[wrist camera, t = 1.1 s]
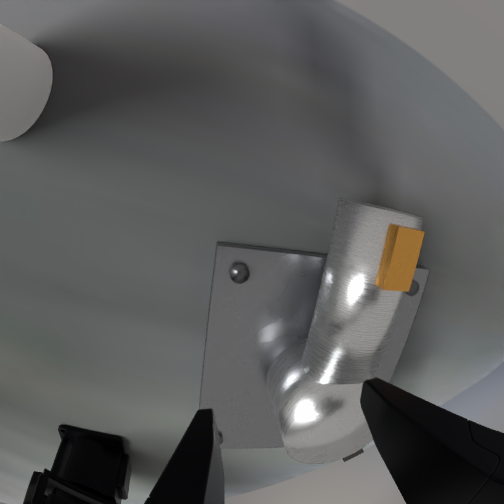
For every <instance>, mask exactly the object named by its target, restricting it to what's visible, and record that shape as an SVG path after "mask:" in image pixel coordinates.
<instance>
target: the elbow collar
mask: <svg viewBox="0 0 504 504" xmlns="http://www.w3.org/2000/svg"><path fill="white" fill-rule="evenodd" d="M422 223H423V218H421V217H419V216H416V215H413V214H409V213H406V212H402V211H399V210H395V209H391V208H387V207H383V206H379V205H375V204H370V203H365V202H361V201H355V200H350V199H343V198H339V199H338V205H337V210H336V215H335V220H334V226H333V231H332V235H331V240H330V245H329V250H328V255H327V259H326V264H325V268H324V273H323V277H322V282H321V286H320V290H319V294H318V299H317V303H316V307H315V311H314V315H313V319H312V323H311V327H310V331H309V334H308V338H305V339H303V340H300V341H298V342H296V343H294V344H292V345H290V346H289V347H287V348H286V349H285V350H283V351H282V352H281V353H280V354H279V355H278V356H277V357H276V358H275V360H274V361H273V363H272V364H271V366H270V368H269V370H268V373H267V377H266V386H267V390H268V394H269V397H270V400H271V404H272V407H273V410H274V414H275V417H276V420H277V424H278V427H279V430H280V434H281V437H282V440H283V443H284V447H285V449H286V452H287V453H288V454H289V455H290V456H291V457H292V458H293V459H295V460H297V461H300V462H304V463H310V464H319V463H327V462H332V461H336V460H339V459H342V458H345V457H347V456H349V455H351V454H353V453H355V452H357V451H359V450H360V449H362V448H363V447H365V446H366V445H367V444H369V443H370V442H371V441H372V440H373V437H372V435H371V432H370V429H369V427H368V424H367V422H366V419H365V416H364V414H363V411H362V409H361V406H360V397H361V391H362V385H363V382H364V381H365V380H367V379H371V378H374V377H375V374H376V372H377V369H378V367H379V364H380V362H381V359H382V357H383V354H384V351H385V349H386V346H387V343H388V341H389V338H390V335H391V332H392V329H393V326H394V324H395V321H396V318H397V315H398V311H399V308H400V305H401V302H402V299H403V296H404V292H405V291H406V292H409V290H410V286H411V283H412V279H413V276H414V272H415V269H416V265H417V261H418V257H419V253H420V249H421V245H422V241H423V237H424V233H425V232H424V231H421V227H422Z"/></svg>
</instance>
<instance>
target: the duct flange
mask: <svg viewBox="0 0 504 504" xmlns="http://www.w3.org/2000/svg"><path fill="white" fill-rule="evenodd" d="M327 255H328V254H320V253H312V252H303V251H294V250H286V249H277V248H268V247H260V246H251V245H242V244H233V243H224V242H217V247H216V255H215V262H214V271H213V279H212V287H211V296H210V304H209V313H208V322H207V332H206V341H205V351H204V361H203V371H202V382H201V393H200V404H199V409H208V408H212V409H213V411H214V415H215V419H216V424H217V429H218V435H219V443H220V448H278V447H284V443H283V440H282V437H281V434H280V430H279V427H278V424H277V420H276V417H275V414H274V410H273V407H272V404H271V400H270V397H269V394H268V390H267V386H266V377H267V373H268V370H269V368H270V366H271V364H272V363H273V361H274V360H275V358H276V357H277V356H278V355H279V354H280V353H281V352H282V351H283V350H285V349H286V348H287V347H289V346H290V345H292V344H294V343H296V342H298V341H300V340H303V339H305V338H308V334H309V331H310V327H311V323H312V319H313V315H314V311H315V307H316V303H317V299H318V294H319V290H320V286H321V282H322V277H323V273H324V268H325V264H326V259H327ZM428 274H429V269H427V268H426V267H424V266H421V265H416V269H415V272H414V276H413V279H412V283H411V286H410V290H409V292H406V291H405V292H404V296H403V299H402V302H401V305H400V308H399V311H398V315H397V318H396V321H395V324H394V326H393V329H392V332H391V335H390V338H389V341H388V343H387V346H386V349H385V351H384V354H383V357H382V359H381V362H380V364H379V367H378V369H377V372H376V374H375V377H377V378H380V379H382V380H384V381H386V382H388V383H389V382H390V380H391V377H392V375H393V373H394V370H395V368H396V365H397V363H398V361H399V358H400V356H401V353H402V351H403V348H404V346H405V343H406V340H407V338H408V335H409V332H410V329H411V327H412V324H413V321H414V318H415V315H416V312H417V309H418V306H419V303H420V300H421V297H422V294H423V291H424V287H425V284H426V281H427V277H428ZM361 453H363V449H360V450H359V451H357V452H355V453H353V454H351V455H349V456H347V457H345V458H342V459H343V460H344V462H345V461H347V460H349V459H351V458H353V457H355V456H357V455H359V454H361Z"/></svg>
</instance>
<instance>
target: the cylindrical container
mask: <svg viewBox="0 0 504 504" xmlns="http://www.w3.org/2000/svg"><path fill="white" fill-rule="evenodd" d="M52 80H53V75H52V66H51V61H50V59H49V57H48V55H47V54H46V53H45V52H44V50H42V49H41V48H39V47H38V46H36V45H34V44H33V43H31V42H30V41H28V40H26V39H25V38H23V37H21V36H20V35H18V34H17V33H15V32H13V31H12V30H10V29H8V28H7V27H5V26H3V25H1V24H0V141H2V142H3V141H10V140H12V139H15V138H17V137H19V136H20V135H22V134H23V133H25V132H26V131H27V130H28V129H29V128H30V127H31V126H32V125H33V124H34V123H35V121H36V120H37V119H38V118H39V116H40V114H41V113H42V111H43V109H44V107H45V105H46V103H47V101H48V98H49V94H50V91H51V86H52Z"/></svg>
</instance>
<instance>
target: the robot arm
mask: <svg viewBox="0 0 504 504" xmlns="http://www.w3.org/2000/svg"><path fill="white" fill-rule="evenodd" d="M360 406H361V409H362V411H363V414H364V416H365V419H366V422H367V424H368V427H369V429H370V432H371V435H372V437H373V440H374V442H375V445H376V447H377V449H378V451H379V453H380V455H381V457H382V458H383V460H384V462H385V464H386V466H387V468H388V470H389V472H390V474H391V475H392V477H393V479H394V481H395V483H396V485H397V487H398V489H399V491H400V493H401V494H402V496H403V498H404V500H405V502H406V504H504V433H502V432H499V431H496V430H492V429H490V428H487V427H485V426H482V425H479V424H477V423H475V422H473V421H470V420H469V421H468V420H467V419H466V418H463V417H461V416H459V415H456V414H454V413H452V412H450V411H447V410H445V409H443V408H441V407H439V406H436V405H434V404H432V403H430V402H428V401H426V400H423V399H421V398H419V397H417V396H415V395H413V394H411V393H409V392H407V391H404V390H402V389H400V388H398V387H396V386H394V385H392V384H390V383H388V382H386V381H384V380H382V379H380V378H377V377H374V378H371V379H367V380H365V381H364V382H363V385H362V391H361V397H360ZM58 431H59V434H60V437H61V439H62V441H61V443H60V446H59V449H58V452H57V454H56V457H55V460H54V463H53V466H52V469H51V471H49V470H47V469H46V468H45V469H44V471H43V473H42V472H36V471H34V472H33V475H32V477H31V480H30V483H29V486H28V489H27V492H26V495H25V499H24V502H23V504H121V499H124V500H126V499H127V498H128V491H129V483H130V476H131V464H130V459H129V455H128V454H126V453H125V448H124V442H123V439H122V438H120V437H117V436H111V435H106V434H101V433H96V432H91V431H86V430H82V429H77V428H73V427H69V426H65V425H60V426H59V428H58ZM144 504H224V472H223V465H222V458H221V450H220V443H219V435H218V429H217V424H216V419H215V415H214V411H213V409H212V408H208V409H199V410H198V411H197V412H196V414H195V416H194V418H193V420H192V421H191V423H190V425H189V427H188V429H187V430H186V432H185V434H184V436H183V437H182V439H181V441H180V443H179V444H178V446H177V448H176V450H175V452H174V453H173V455H172V457H171V459H170V460H169V462H168V464H167V466H166V467H165V469H164V471H163V472H162V474H161V476H160V478H159V479H158V481H157V483H156V485H155V486H154V488H153V490H152V491H151V493H150V495H149V497H148V498H147V500H146V501H145V503H144Z"/></svg>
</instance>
